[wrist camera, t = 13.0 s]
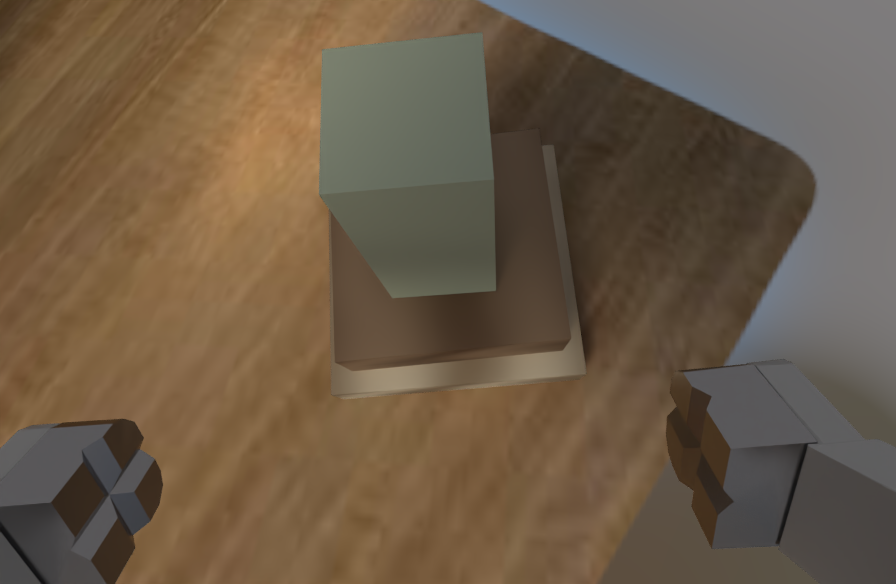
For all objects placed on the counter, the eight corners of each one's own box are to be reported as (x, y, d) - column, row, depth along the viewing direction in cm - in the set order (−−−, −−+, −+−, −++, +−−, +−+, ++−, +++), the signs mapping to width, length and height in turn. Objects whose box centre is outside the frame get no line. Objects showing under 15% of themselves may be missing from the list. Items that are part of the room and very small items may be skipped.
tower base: (347, 400, 28) (331, 395, 26) (343, 193, 32) (328, 168, 29) (576, 381, 28) (586, 373, 25) (548, 172, 31) (553, 144, 28)
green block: (392, 298, 23) (319, 194, 14) (390, 203, 25) (322, 49, 15) (496, 291, 23) (494, 179, 14) (488, 195, 24) (482, 32, 15)
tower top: (352, 371, 26) (334, 362, 23) (345, 183, 29) (329, 153, 26) (562, 350, 25) (571, 338, 22) (534, 160, 28) (539, 128, 25)
